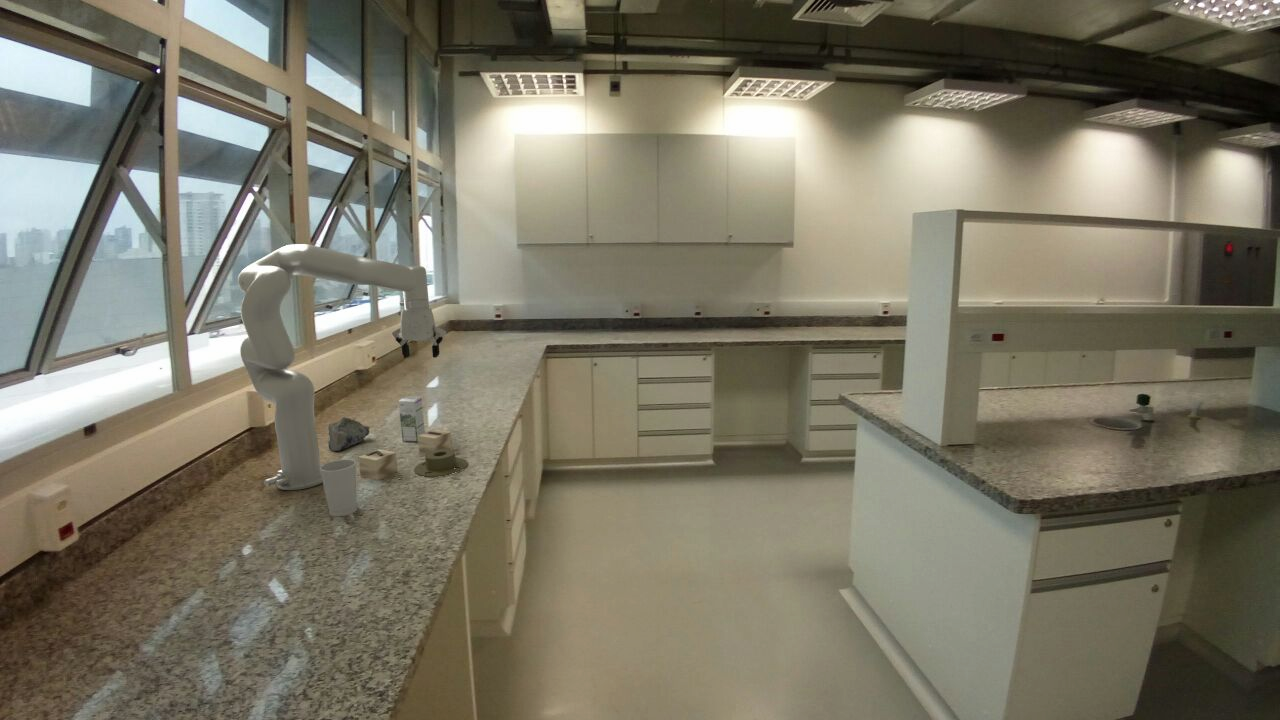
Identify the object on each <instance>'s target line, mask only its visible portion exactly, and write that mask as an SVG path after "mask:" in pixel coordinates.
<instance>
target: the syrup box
mask: <svg viewBox="0 0 1280 720" xmlns="http://www.w3.org/2000/svg"><path fill="white" fill-rule="evenodd" d="M423 409H424V408H423V399H422V396H404V397H402V398H401V399H399V400H398V410H399V411H398V412H399V419H400V428H401V429H400V430H401V440H402V442H408V443H410V442H413V443H415V442H416V443H419V442H418V435H421V434H424V433H426V430H425V420H424V419H425V418H424V411H423Z"/></svg>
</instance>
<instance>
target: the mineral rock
mask: <svg viewBox="0 0 1280 720" xmlns="http://www.w3.org/2000/svg"><path fill="white" fill-rule="evenodd" d="M327 429H328V435H329V440H328V448H329V450H331V451H332V452H335V451H336V452H337V451H339V452H340V451H341V450H344V449H348V448H349V447H350V446H354V445H355V444H358V443H361V442H362V441H363V440H364V439H365V438H366V437H367V436H369V434H370V426H367V425H364V424H363V423H361V422H359V421H357V420H355V419H352V418H347V417H346V416H344V417H342V418H341V419H340V420H338V421H336V422H332V423H330V424H329V425H328V428H327Z"/></svg>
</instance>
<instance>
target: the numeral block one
mask: <svg viewBox="0 0 1280 720" xmlns="http://www.w3.org/2000/svg"><path fill="white" fill-rule="evenodd" d="M417 443H418V450H419V454H420V453H423V454H422V455H425V454H427V453H428V452H431V451H434V450H439V449H452V450H453V443H452V432H451V431H448V430H441V429H432V430H430V431H427V432H426V431H425V433H424V434H421V435H418V442H417Z"/></svg>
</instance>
